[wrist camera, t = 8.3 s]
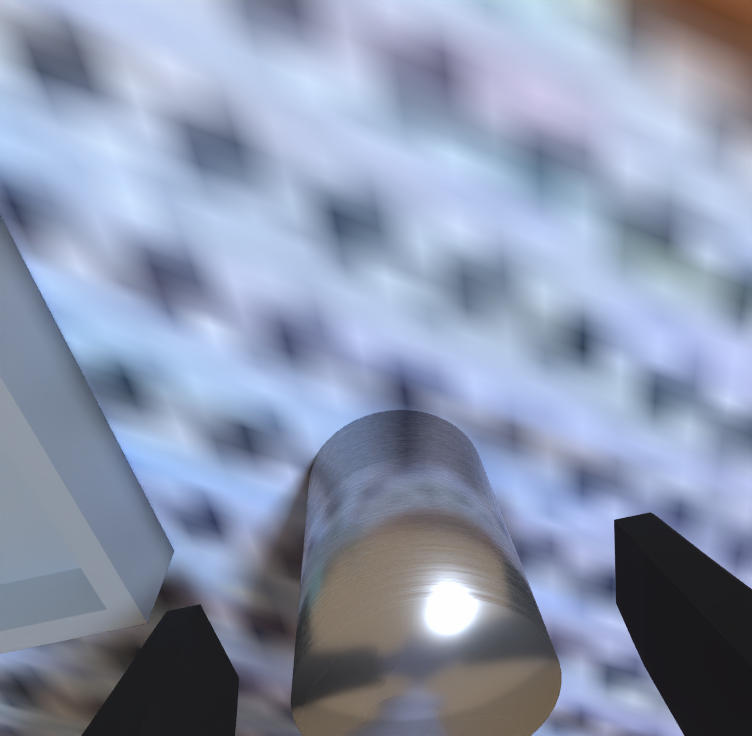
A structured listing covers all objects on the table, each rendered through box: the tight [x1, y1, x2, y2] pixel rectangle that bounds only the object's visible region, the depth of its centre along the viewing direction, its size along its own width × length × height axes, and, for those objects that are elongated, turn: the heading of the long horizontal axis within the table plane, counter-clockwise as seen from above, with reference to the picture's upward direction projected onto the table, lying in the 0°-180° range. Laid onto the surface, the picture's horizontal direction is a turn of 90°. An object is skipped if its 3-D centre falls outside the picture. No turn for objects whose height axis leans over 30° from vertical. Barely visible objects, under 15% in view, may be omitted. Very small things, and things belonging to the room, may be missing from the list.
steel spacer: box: [291, 410, 561, 736], centre depth 10 cm, size 4×4×5 cm
